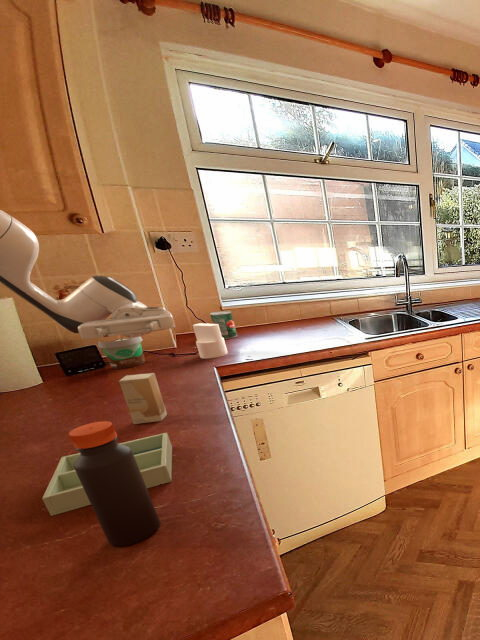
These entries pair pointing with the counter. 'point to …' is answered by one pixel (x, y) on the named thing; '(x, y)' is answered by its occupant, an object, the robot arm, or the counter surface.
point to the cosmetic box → (143, 398)
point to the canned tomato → (224, 323)
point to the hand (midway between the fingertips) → (127, 331)
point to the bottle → (113, 484)
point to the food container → (123, 352)
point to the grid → (150, 460)
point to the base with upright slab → (209, 341)
